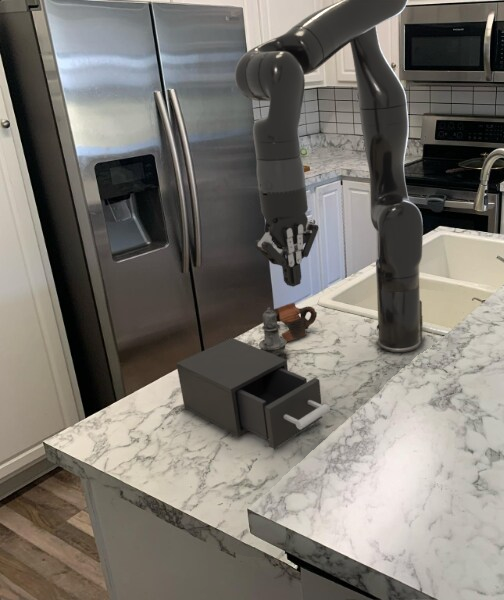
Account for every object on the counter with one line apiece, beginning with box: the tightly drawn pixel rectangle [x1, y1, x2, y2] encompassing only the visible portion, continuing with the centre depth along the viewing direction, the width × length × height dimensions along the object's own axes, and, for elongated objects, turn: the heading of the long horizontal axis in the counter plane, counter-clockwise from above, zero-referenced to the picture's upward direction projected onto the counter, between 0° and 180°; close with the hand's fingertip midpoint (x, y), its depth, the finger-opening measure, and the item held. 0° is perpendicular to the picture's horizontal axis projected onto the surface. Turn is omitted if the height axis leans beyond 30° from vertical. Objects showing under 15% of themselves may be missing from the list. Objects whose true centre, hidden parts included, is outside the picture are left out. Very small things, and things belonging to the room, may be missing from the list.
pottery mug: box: [271, 302, 318, 343], centre depth 143 cm, size 12×10×8 cm
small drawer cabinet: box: [176, 337, 289, 438], centre depth 113 cm, size 16×13×10 cm
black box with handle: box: [235, 367, 331, 450], centre depth 106 cm, size 19×11×8 cm, turn 53°
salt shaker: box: [258, 306, 288, 360], centre depth 130 cm, size 6×6×12 cm
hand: (293, 284), depth 105 cm, fingers closed
